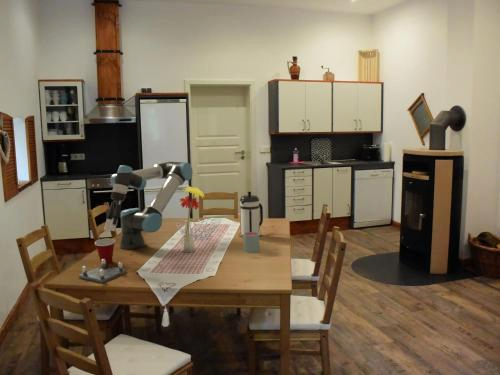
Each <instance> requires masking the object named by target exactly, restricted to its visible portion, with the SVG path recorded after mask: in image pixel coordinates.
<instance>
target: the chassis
mask: <svg viewBox="0 0 500 375" xmlns="http://www.w3.org/2000/svg"><path fill="white" fill-rule="evenodd" d="M100 263H101V265H100V266H98V267H96V268H93V269H90V270H88V269H87V265H83V266H81V269H82V270H81V271H82V273H80V274H78V278H79V279H83V280H86V281H87V280H88V281H91V282H96V283H99V282H100V283H101V284H103V283H105V282H108V281H110V280H113V279H115V278H118V277H120V276H122V275H124V274H127V271H128V270H127V269H125V268H123V266H124V265H123V262H122V261H120V262H117V266H118V267H115V266H109V265H107V264H106V261H105V259H101V261H100ZM100 283H99V284H100Z"/></svg>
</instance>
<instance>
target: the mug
mask: <svg viewBox="0 0 500 375" xmlns="http://www.w3.org/2000/svg"><path fill="white" fill-rule="evenodd" d="M259 235H260V232H259V233H257V232H246V233H244V234H243V235H242V236H243V237H242V238H243V252H245V253H248V254H255V253H259V252H260V250H261V249H260V246H261V245H260V236H259Z"/></svg>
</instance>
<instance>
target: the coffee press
mask: <svg viewBox="0 0 500 375" xmlns="http://www.w3.org/2000/svg"><path fill="white" fill-rule="evenodd" d="M239 203H240V204H239V209H240V210H239V212H240V213H239V214H240V215H239V218H240V219H239V220H240V233H239V234H238V236H239V238H242V236H243V234H244V233H246V232H257V233H259V237H262V233H261V229H260V227H261V226H262V224H263V222H264V221H263V220H264V212H263V211H264V210H263V204H261V202H260V198H259V196H258V195H255V194H252V191H247V194H244V195H242V196H241V197H240V198H239ZM260 234H261V235H260Z"/></svg>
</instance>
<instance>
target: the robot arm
mask: <svg viewBox="0 0 500 375" xmlns="http://www.w3.org/2000/svg"><path fill="white" fill-rule="evenodd" d="M116 172H117V173H114V174H112V175H111V176H110V179H109V180H110V183H111V185H112V187H113V188H112V192H111V195H110V199H111V200H113V201H111V203H110V206H109V209H108V211H107V214H106V216H105V217H106V221H105V224H104V228H103V231H106V232H110V231H111V232H116V228H117V225H118V220H119V219H120V228H121V236H120V240H119V248H121V249H122V250H124V249H125V250H134V249H139V248H142V247H144V246H145V245H146V241H145V239H144V236H143V233H142V232H145V233H156V232H158V231H159V230H160V229H161V227H162V225H163V214H162V213H163V212H164V210H165V209H166V207H167V206H168V204H169V203H170V201H171V199H172V197H173V196H174V195H175V193H176V191H177V189H178V188H179V187H180V186H183V184H184V183H185V182H186V181H190V180H191V179H192V178H193V174H194V172H193V168H192V166H191V164H190V163H189V162H185V161H181V162H180V161H165V162H162V163H157V164H154V165H153V166H151V167H147V168H142V169H137V170H133V168H132V167H131V166H129V165H124V164H122V165H119V167H118V169H117V171H116ZM154 179H156V180H161V179H166V181H165V182H164V184H163V185H162V186H161V188H160V189H159V191H158V192H157V194H156V196H155V197H154V198H153V200H152V202H151V203H150V204H149V205H147V206H145V207H144V208H143V211H141V209H140V207H135V208H128V209H127V208H126V209H123V210H121V209H122V203H123V202H124V201H125V200H126V197H127V195H126V194H127V193H128V189H129V188H131V189H136V190H138V191H139V190H140V191H141V190H144V189H145V188H146V186H147V181H150V180H154Z"/></svg>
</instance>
